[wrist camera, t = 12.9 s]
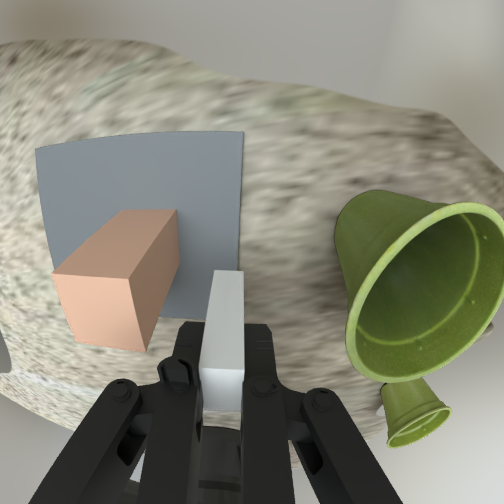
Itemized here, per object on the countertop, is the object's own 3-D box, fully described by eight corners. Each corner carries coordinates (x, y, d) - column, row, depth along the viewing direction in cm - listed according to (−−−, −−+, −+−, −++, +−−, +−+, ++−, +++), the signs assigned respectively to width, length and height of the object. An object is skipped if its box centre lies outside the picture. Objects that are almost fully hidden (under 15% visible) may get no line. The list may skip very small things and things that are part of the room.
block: (179, 263, 22) (145, 352, 13) (129, 261, 22) (76, 341, 13) (176, 209, 20) (128, 278, 11) (122, 209, 20) (51, 273, 11)
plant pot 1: (348, 132, 19) (443, 151, 8) (444, 204, 21) (530, 259, 11) (277, 262, 23) (300, 367, 13) (380, 305, 26) (430, 390, 15)
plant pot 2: (426, 383, 33) (447, 425, 26) (372, 409, 35) (388, 454, 27) (428, 350, 30) (456, 397, 22) (365, 380, 31) (385, 435, 23)
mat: (235, 316, 25) (235, 321, 25) (68, 302, 25) (65, 305, 24) (243, 131, 19) (243, 132, 18) (39, 147, 18) (35, 148, 17)
